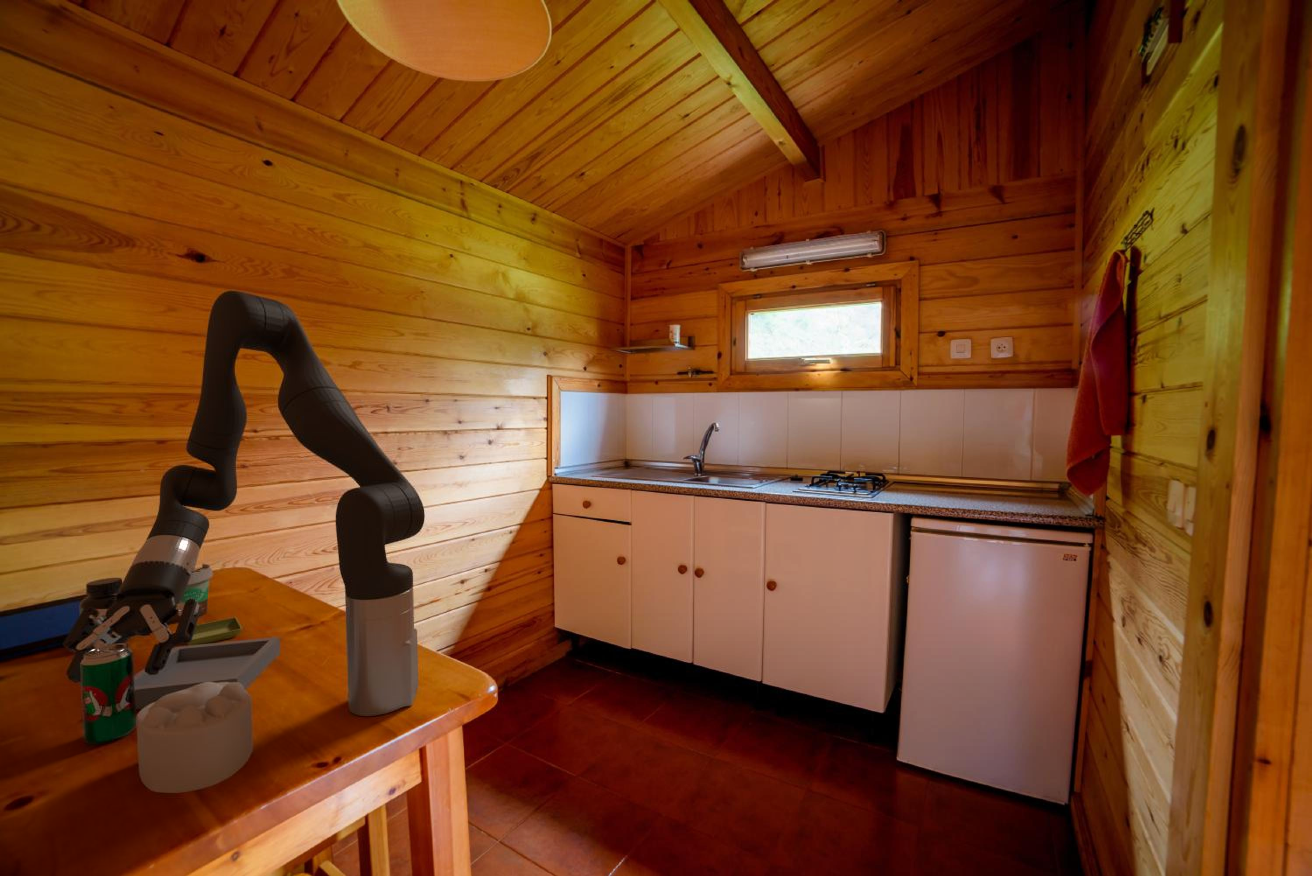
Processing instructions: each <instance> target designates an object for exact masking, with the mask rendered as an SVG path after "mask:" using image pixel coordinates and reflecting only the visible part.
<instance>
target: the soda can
mask: <svg viewBox="0 0 1312 876" xmlns="http://www.w3.org/2000/svg"><path fill="white" fill-rule="evenodd" d="M133 652H134V651H133V650H132V649H131V648H130V645H129V644H128V643H126V642H124V643H118V644H110V645H106V646H101V647H98V648H95V649H92V650H90V651H88V652H86V653H85V654H84V659H83V660H82V661H81V663H80V675H81V682H80V688H81V689H80V692H81V709H82V725H83V740H84V742H86V743H88V744H90V745H102V744H108V743H111V742H115V741H117V740H119V739H122V738H124V737H125V736H127V735H129V734H130V733H131V732H132V731H133V730H134V729H135V727H137V719H136V718H137V711H136V710H137V709H136V706H135V686H134V676H135V671H134V670H135V669H134V668H135V667H134V653H133ZM114 740H115V741H114Z"/></svg>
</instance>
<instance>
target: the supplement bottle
mask: <svg viewBox="0 0 1312 876" xmlns="http://www.w3.org/2000/svg"><path fill="white" fill-rule="evenodd" d="M122 583H123V578H122V577H109V578H108V577H106V578H100V579H96V580H92V581H90V582H88V583H86V585H85V588H86V589H85V590H86V591H85V594H86V595H87V596H86V597H84V598H83V599H82V600H81V601H80V603H79V606H78V607H79V616H80V615H81V613H82V611H83V610H84V609H85V608H86V607H88V606H92V607H94V608H95V609H109V608H110V607H111V606H112V605H113V604H114V603H115V601H116V598H117V593H118V591H119V589H120V587H121V585H122ZM106 620H108V619H107V618H105V619H104V620H103V621H102V623H104V622H105V621H106ZM98 626H100V625H97V627H98ZM97 627H96V628H97ZM112 632H114V631H113V630H112V628H111V629H110V630H108V632H107V634H111V633H112ZM131 638H132V637H126V638H123V637H121V638H119V639H118V640H117V641H115V642H114V643H112V644H118V643H126V642H128V641H129V640H130V639H131ZM108 645H110V644H108Z"/></svg>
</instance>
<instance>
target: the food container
mask: <svg viewBox="0 0 1312 876" xmlns="http://www.w3.org/2000/svg"><path fill="white" fill-rule="evenodd" d="M201 564H202V565H201V567H200V568H198V569H194V571H193V573H192V575H191V577H190V580H189V582H188V585H187V587H186V589H185V592H184V594H183V597H182V599H181V601H180V602H179V603H185V602H186V601H187V600H189V599H194V600H195V601H196V602H197V603H198V604H199V605H200V606H201V612H200V615H199V618H200V617H203V616H205V615H206V614H207V612H208V601H209V586H210V579H212V577H213V576H214V573H213V572H214V571H212V567H210V565H209V564H205V563H201ZM180 617H181V616H180V615H179V612H178V613H177V614H176V615H175V616H174V617H173V618H171V619H170V620H169V621H168V622H166V624H167V626H168V625H175V624H178V623H179V620H180Z"/></svg>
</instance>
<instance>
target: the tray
mask: <svg viewBox="0 0 1312 876" xmlns="http://www.w3.org/2000/svg"><path fill="white" fill-rule="evenodd" d="M280 653H281V638H280V636H274V637H264V638H263V637H262V638H254V639H253V638H252V639H245V640H243V639H242V640H233V641H224V642H211V643H207V644H201V645H190V646H189V645H181V646H180V645H179V646H175V647H173V648H172V650H171V652H170V655H169V657H168V659H167V662H166V664H165V667H164V668H163V669H162V670H159V672H158V674H156V675H149V674H148V673H146V672H145V668H144V669H142V670H140V671H139V672H138V673H136V674H134V686H135V706H136V710H142V709H143V708H144V707H146V706H147V705H149V704H151V703H154V702H156V701H158V700H159V699H160V698H161V697H163V696H165V695H167V694H170V693H174V692H177V691H180V690H185V689H188V688H190V687H193V686H195V685H198V684H201V683H204V682H214V683H219V682H230V683H231V682H238V683H241V684H242V685H243V687H244V689H245V690H246V689H248V687H249V686H250V685H251V684H252V683H253V682H254V681H255V680H256V679H257V678H258V677H259V676H260V675H261V674H262V673H263V671H265V669H267V667H269V666H270V664H271V663H272V662H273V661H274V660H275V659H276V658H277V657H278V656H279V655H280Z"/></svg>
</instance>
